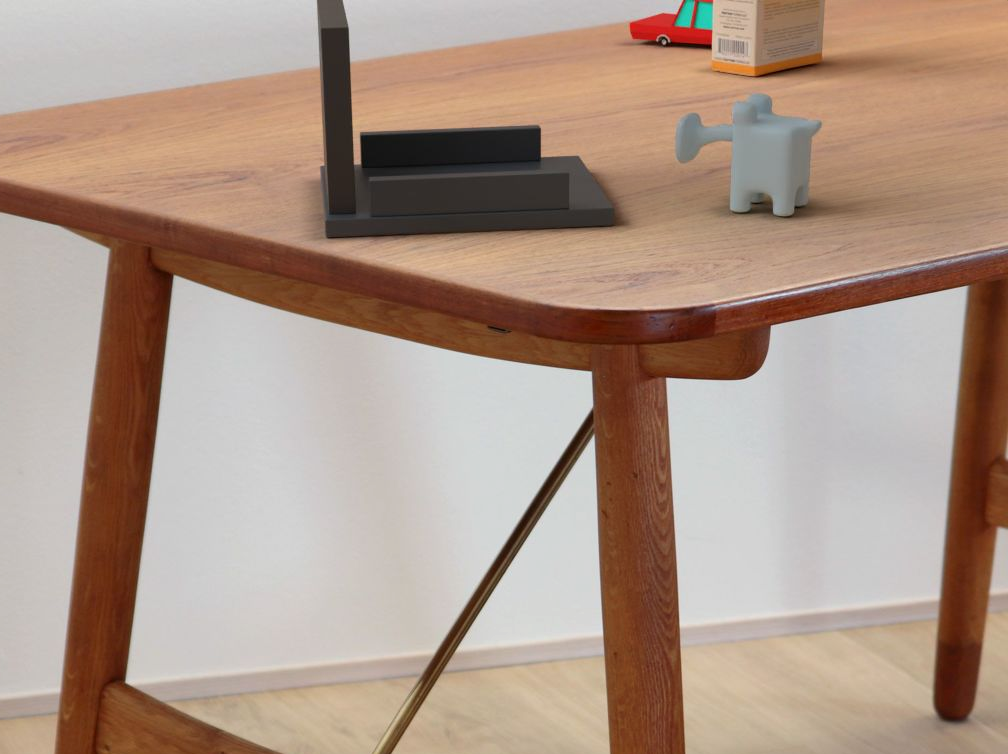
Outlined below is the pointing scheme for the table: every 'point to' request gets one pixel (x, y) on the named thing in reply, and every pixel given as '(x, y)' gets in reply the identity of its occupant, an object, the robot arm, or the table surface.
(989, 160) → the table surface
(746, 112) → the figurine
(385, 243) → the table surface
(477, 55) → the table surface
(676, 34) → the toy car
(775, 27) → the supplement box
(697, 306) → the table surface
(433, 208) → the cradle
